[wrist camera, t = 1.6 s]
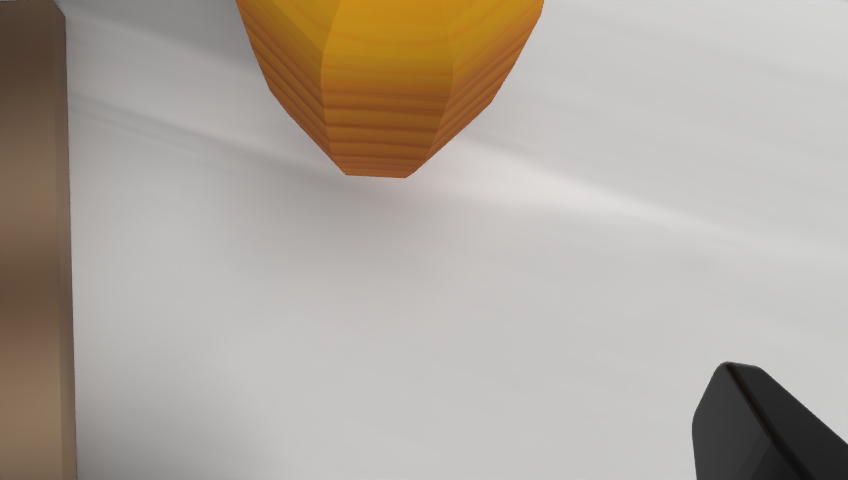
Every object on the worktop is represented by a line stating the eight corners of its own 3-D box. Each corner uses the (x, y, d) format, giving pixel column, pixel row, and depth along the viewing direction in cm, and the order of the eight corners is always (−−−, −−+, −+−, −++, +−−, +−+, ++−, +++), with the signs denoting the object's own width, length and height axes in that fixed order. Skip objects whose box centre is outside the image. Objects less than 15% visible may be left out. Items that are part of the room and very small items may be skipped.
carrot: (257, 98, 22) (66, -523, 7) (427, 43, 23) (560, -617, 8) (318, 267, 21) (240, -55, 7) (493, 205, 22) (771, -207, 7)
